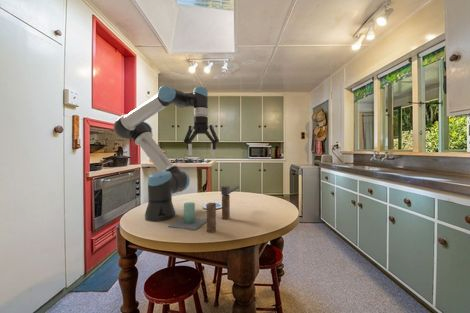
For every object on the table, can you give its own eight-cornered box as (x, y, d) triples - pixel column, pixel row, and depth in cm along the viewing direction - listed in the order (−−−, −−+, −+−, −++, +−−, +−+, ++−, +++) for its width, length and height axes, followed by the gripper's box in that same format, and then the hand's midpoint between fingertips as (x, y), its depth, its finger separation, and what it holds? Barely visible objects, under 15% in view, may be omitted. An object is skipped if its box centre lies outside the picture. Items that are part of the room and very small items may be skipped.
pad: (168, 226, 101) (168, 225, 101) (184, 217, 114) (184, 216, 114) (195, 230, 96) (195, 229, 96) (209, 220, 110) (209, 219, 110)
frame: (206, 232, 94) (206, 204, 94) (224, 217, 114) (224, 194, 114) (213, 232, 93) (213, 204, 93) (229, 217, 113) (229, 194, 113)
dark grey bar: (221, 195, 110) (221, 186, 110) (235, 187, 132) (235, 180, 132) (227, 195, 109) (227, 187, 109) (240, 187, 131) (240, 180, 131)
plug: (182, 223, 104) (181, 204, 103) (187, 220, 108) (187, 202, 108) (191, 224, 102) (191, 205, 102) (196, 221, 107) (196, 202, 107)
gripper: (177, 116, 120) (177, 155, 121) (219, 114, 113) (219, 156, 113) (184, 118, 127) (184, 155, 128) (224, 116, 120) (225, 155, 121)
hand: (201, 155), depth 121 cm, fingers open, 13 cm apart
